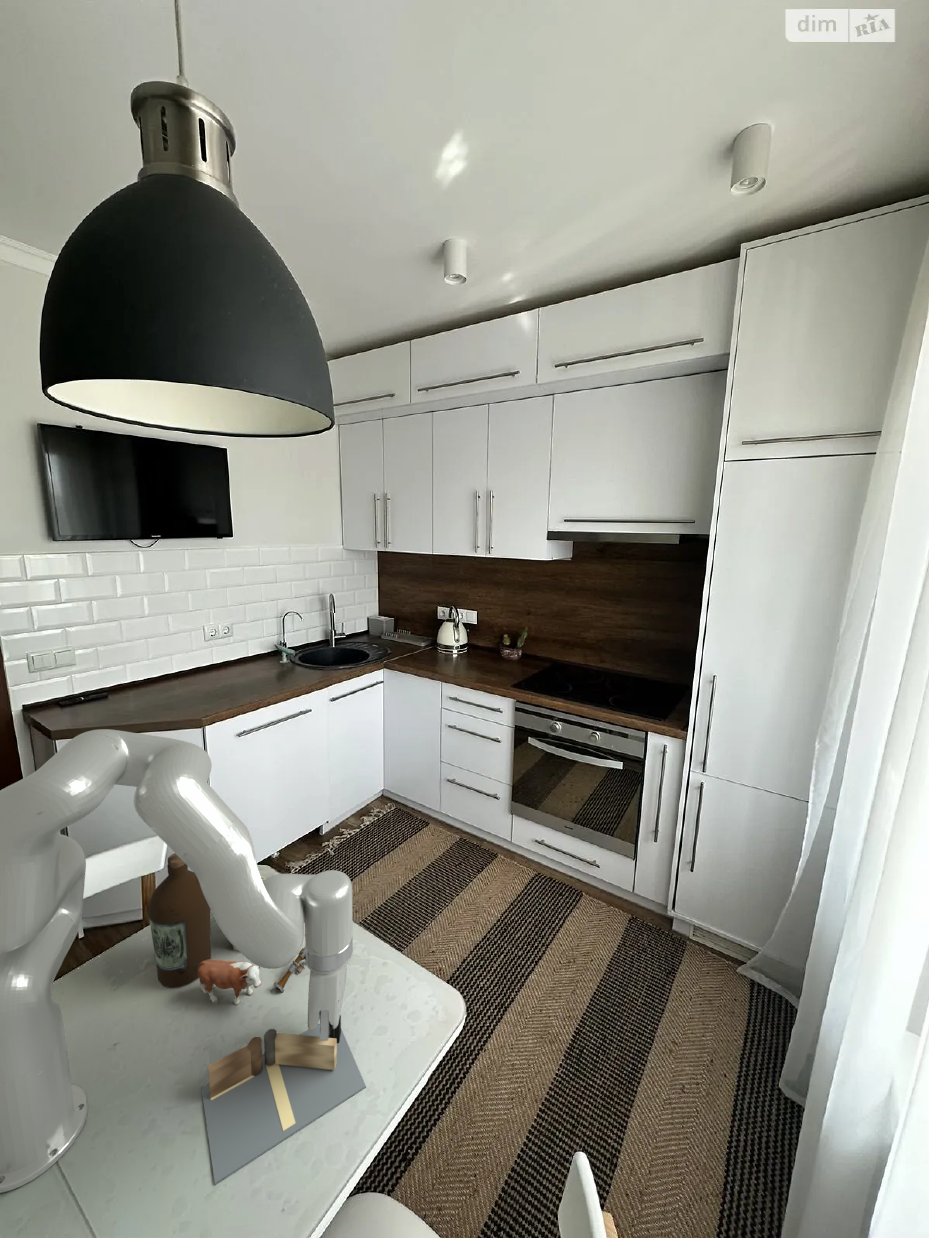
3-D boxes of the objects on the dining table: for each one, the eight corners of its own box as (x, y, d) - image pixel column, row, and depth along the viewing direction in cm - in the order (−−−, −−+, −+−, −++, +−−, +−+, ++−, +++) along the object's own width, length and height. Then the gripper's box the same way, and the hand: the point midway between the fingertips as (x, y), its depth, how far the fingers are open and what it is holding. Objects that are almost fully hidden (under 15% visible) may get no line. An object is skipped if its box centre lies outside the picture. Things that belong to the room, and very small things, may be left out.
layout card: (215, 1184, 67) (214, 1182, 67) (201, 1088, 78) (201, 1086, 78) (365, 1087, 79) (365, 1085, 79) (335, 1016, 91) (335, 1014, 91)
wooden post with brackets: (316, 957, 102) (308, 946, 100) (287, 998, 96) (279, 988, 94) (309, 953, 103) (302, 942, 101) (281, 993, 97) (273, 983, 95)
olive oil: (178, 942, 105) (170, 837, 101) (225, 948, 104) (219, 842, 100) (141, 987, 95) (130, 872, 90) (192, 994, 94) (184, 878, 89)
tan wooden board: (262, 1065, 81) (261, 1040, 80) (268, 1052, 83) (267, 1027, 82) (333, 1072, 81) (333, 1047, 80) (337, 1059, 83) (337, 1034, 82)
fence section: (211, 1101, 76) (209, 1072, 75) (209, 1088, 78) (207, 1061, 77) (263, 1071, 81) (262, 1044, 80) (261, 1060, 82) (259, 1034, 81)
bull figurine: (257, 1016, 90) (256, 978, 89) (193, 999, 93) (191, 962, 91) (271, 994, 94) (270, 958, 93) (210, 979, 97) (207, 944, 96)
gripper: (316, 913, 88) (317, 999, 91) (294, 989, 74) (297, 1089, 77) (358, 911, 89) (358, 997, 92) (345, 987, 74) (346, 1086, 77)
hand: (330, 1038), depth 84 cm, fingers closed
